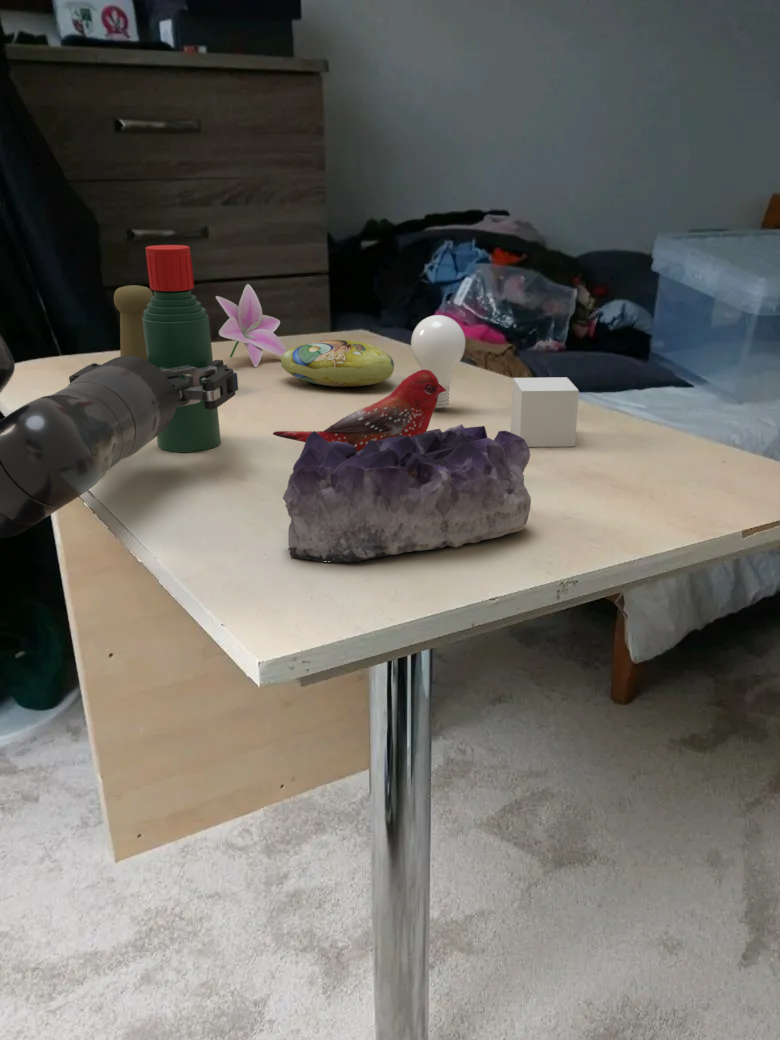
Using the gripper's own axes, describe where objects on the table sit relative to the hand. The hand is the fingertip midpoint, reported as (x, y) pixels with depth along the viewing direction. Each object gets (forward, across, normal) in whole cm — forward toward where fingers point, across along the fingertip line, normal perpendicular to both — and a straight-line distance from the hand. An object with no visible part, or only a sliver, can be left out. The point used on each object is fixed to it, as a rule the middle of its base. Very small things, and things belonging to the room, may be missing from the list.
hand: (179, 368), depth 95 cm
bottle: (0, 0, +8) cm, 8 cm away
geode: (-23, -26, +8) cm, 36 cm away
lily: (+41, +4, +8) cm, 42 cm away
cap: (0, 0, -8) cm, 8 cm away
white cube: (+7, -37, +8) cm, 39 cm away
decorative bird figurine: (-10, -20, +8) cm, 24 cm away
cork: (+34, +18, +8) cm, 39 cm away
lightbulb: (+17, -25, +8) cm, 31 cm away
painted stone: (+29, -11, +8) cm, 32 cm away
